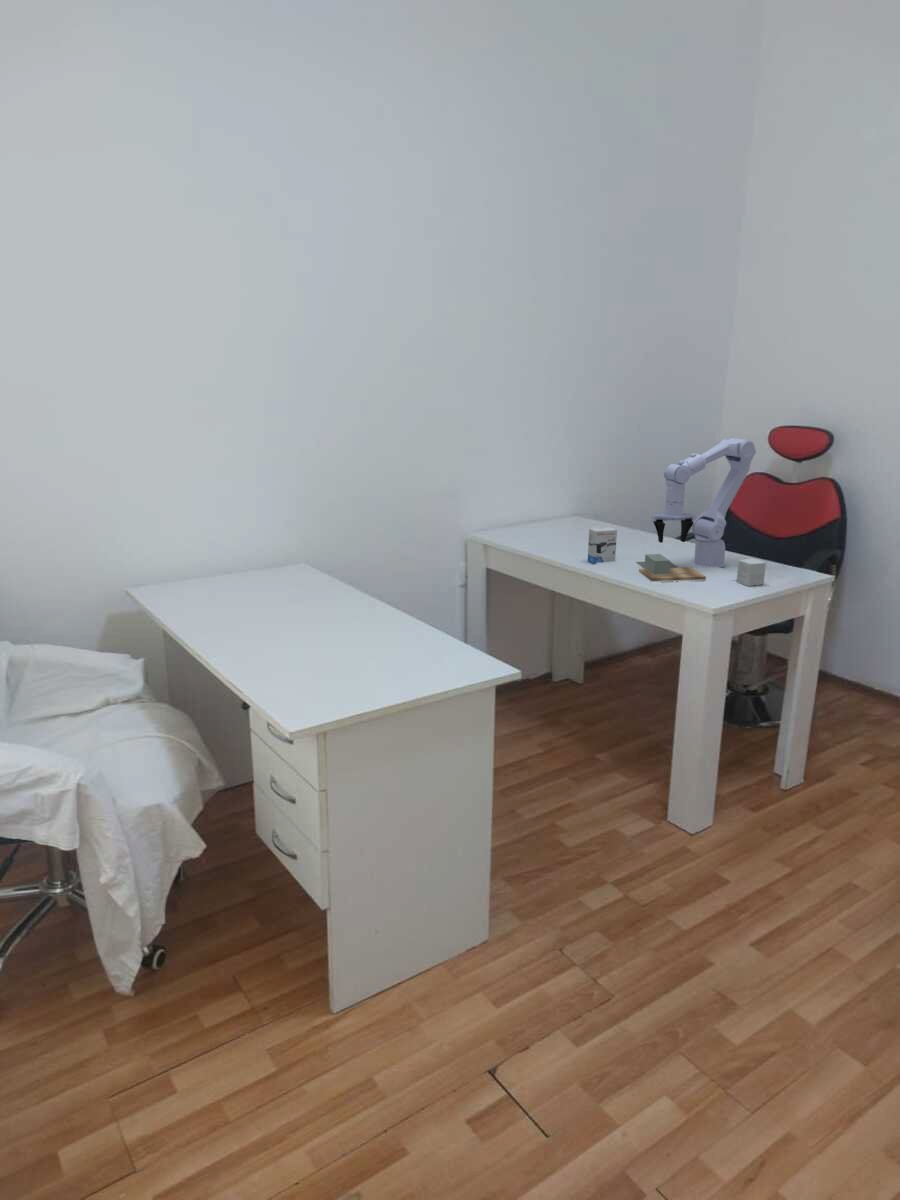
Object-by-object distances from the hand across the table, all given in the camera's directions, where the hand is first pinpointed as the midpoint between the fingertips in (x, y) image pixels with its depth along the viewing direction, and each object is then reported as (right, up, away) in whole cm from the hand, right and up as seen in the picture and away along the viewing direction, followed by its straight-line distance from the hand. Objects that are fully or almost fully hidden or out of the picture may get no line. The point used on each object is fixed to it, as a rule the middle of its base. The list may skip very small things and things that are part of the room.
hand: (671, 541), depth 293 cm
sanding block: (-7, -10, -8) cm, 15 cm away
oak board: (-2, -12, -7) cm, 14 cm away
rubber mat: (-3, -8, +5) cm, 10 cm away
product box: (+21, -14, -14) cm, 29 cm away
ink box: (-21, -6, +12) cm, 25 cm away
